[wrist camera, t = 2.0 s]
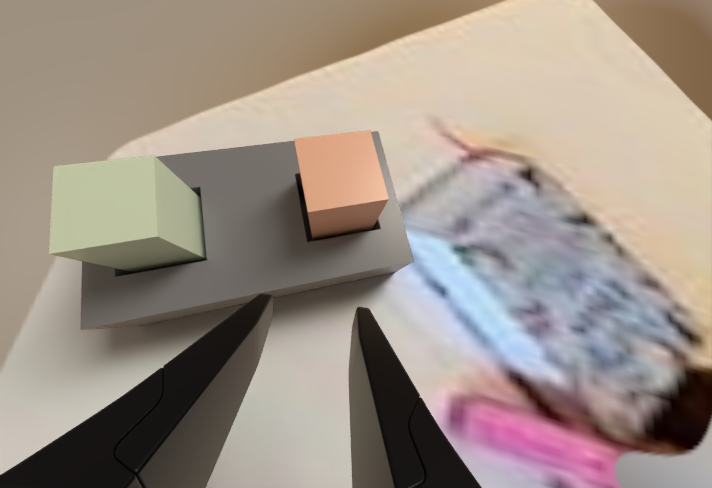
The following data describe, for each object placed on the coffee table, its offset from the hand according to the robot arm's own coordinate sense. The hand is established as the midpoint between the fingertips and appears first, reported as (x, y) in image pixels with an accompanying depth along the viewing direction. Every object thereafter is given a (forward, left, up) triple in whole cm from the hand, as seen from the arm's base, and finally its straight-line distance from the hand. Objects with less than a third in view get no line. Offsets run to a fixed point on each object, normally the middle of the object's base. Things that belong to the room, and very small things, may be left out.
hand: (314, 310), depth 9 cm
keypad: (+7, +3, -14) cm, 16 cm away
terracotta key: (+7, -3, -10) cm, 12 cm away
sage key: (+7, +9, -10) cm, 15 cm away
